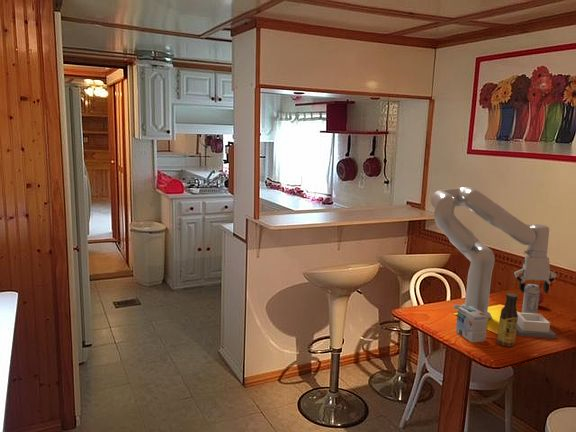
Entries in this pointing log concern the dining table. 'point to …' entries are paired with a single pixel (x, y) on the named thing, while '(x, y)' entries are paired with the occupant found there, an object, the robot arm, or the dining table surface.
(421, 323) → the dining table surface
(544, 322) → the board
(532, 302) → the energy drink can
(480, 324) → the light bulb box
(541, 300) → the onion
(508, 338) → the sauce bottle
